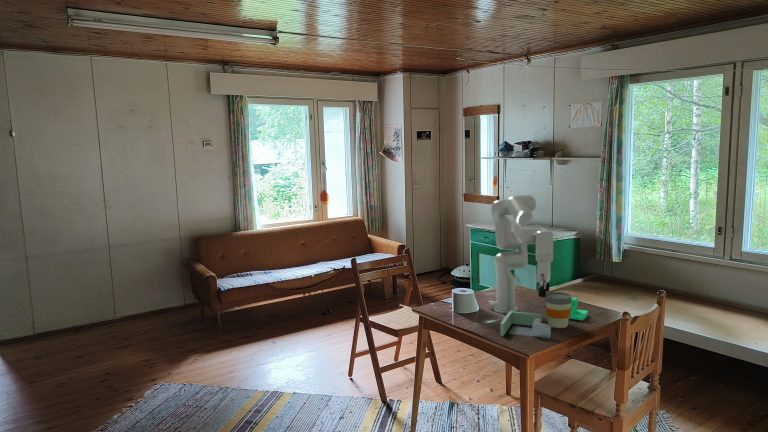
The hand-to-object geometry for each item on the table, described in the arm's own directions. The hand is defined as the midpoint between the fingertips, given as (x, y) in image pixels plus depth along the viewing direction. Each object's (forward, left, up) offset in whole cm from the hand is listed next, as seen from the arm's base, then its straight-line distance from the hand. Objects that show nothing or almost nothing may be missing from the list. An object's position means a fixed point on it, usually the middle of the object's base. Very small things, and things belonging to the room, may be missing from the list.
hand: (544, 294), depth 242 cm
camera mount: (+11, +34, -21) cm, 42 cm away
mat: (-10, +4, -20) cm, 23 cm away
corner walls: (-11, +5, -20) cm, 24 cm away
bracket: (-1, +3, -20) cm, 20 cm away
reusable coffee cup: (+4, +19, -21) cm, 28 cm away
